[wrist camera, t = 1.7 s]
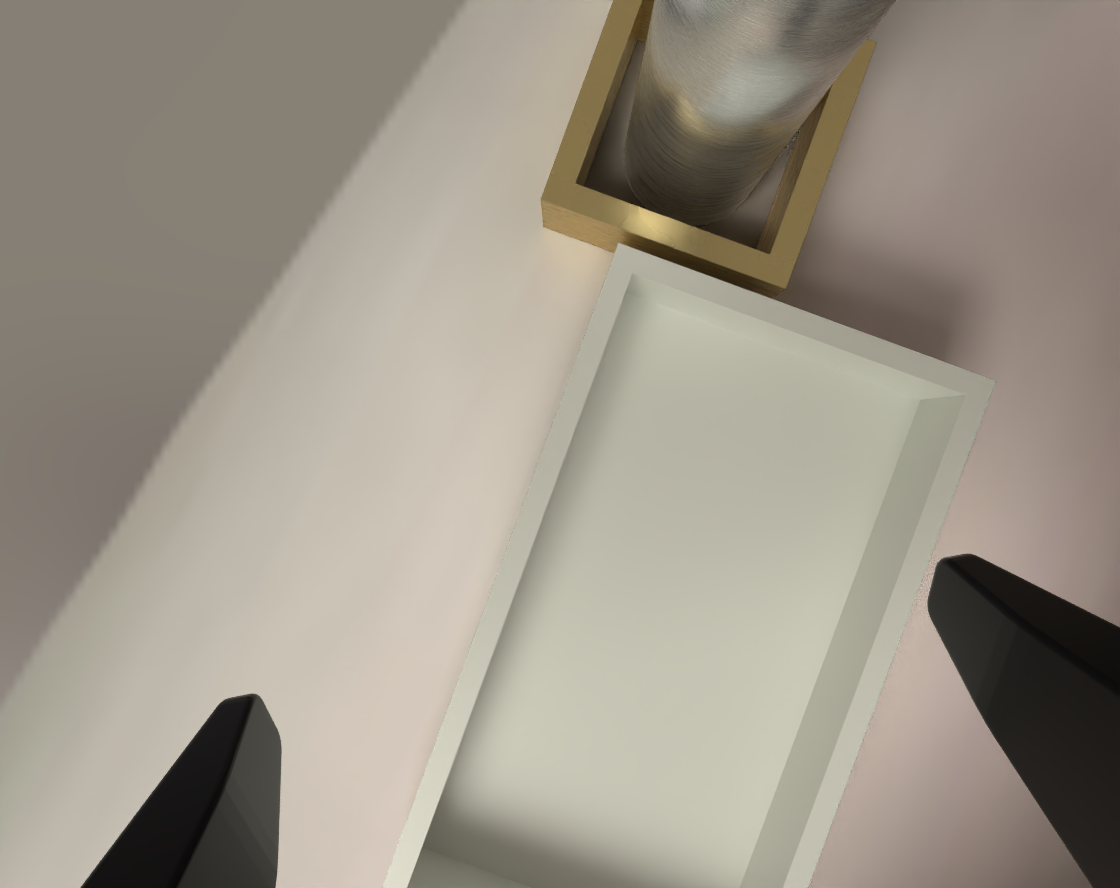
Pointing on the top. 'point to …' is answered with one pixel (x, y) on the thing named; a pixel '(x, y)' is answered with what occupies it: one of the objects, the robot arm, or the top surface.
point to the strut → (731, 94)
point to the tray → (693, 598)
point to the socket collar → (668, 238)
